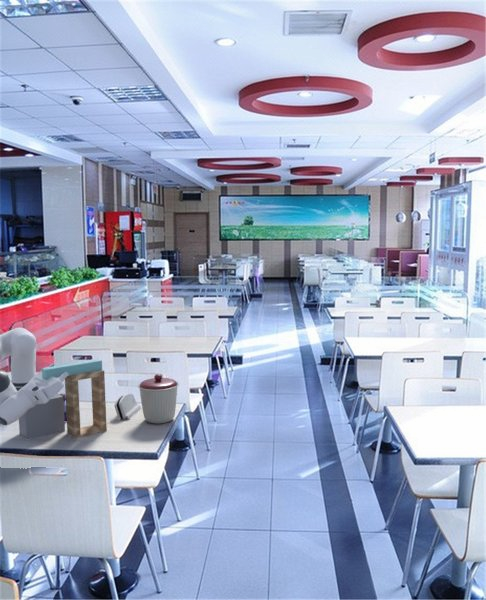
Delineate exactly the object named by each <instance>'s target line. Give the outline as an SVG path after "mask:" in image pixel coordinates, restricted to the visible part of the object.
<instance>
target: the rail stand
mask: <svg viewBox="0 0 486 600" xmlns="http://www.w3.org/2000/svg"><path fill="white" fill-rule="evenodd" d="M105 376H106V375H105V370H103V369H102V370H99V371H94V372H88V373H82V374H76V375H71V376H67V377H66V378H65V379H64V389H65V391H64V392H65V393H64V394H65V396H66V401H65V403H66V415H67V421H66V431H67V434H68V435H69V436H71V437H72V438H74V439H77V438H83V437H86V436H90V435H94V434H95V435H96V434H99V433H103V432H107V430H108V429H107V427H108V426H107V408H106V407H107V405H106V404H107V403H106V402H107V401H106V380H105ZM86 379H91V380H90V381H91V383H90V384H91V386H90V387H91V406H92V424H91V425H87V426H82V427H81V415H80V414H81V413H80V411H81V410H80V391H79V390H80V389H79V381H82V380H86Z"/></svg>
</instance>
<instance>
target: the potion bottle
mask: <svg viewBox="0 0 486 600" xmlns="http://www.w3.org/2000/svg"><path fill="white" fill-rule="evenodd" d="M59 394H60V395H61V396H63V400H64V420H65V421H66V422H67V415H66V395H65V393H59Z"/></svg>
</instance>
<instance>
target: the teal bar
mask: <svg viewBox="0 0 486 600" xmlns="http://www.w3.org/2000/svg"><path fill="white" fill-rule="evenodd" d="M99 370H103V360H101V359H99V358H96V359H90V360H84V361H79V362H78V361H77V362H72V363H65V364H60V365H59V364H58V365H53V366H47V367H42V368H41V371H42V378H43V379H45V380H47V379H48V378H50V377H51V376H53V377H56V378H58V377H60V376H61V375H62V373H63V372H65V371H66V372H67V373H68V374H69V375H68V376H71V375H76V374H82V373H88V372H94V371H99Z"/></svg>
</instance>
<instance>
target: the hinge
mask: <svg viewBox="0 0 486 600" xmlns="http://www.w3.org/2000/svg"><path fill="white" fill-rule="evenodd" d="M141 406H142V405H140V404H138V402H137V400H136V398H135V395H134V394H133V393H126V394H123V395H121V396H120V397H118V398H117V399H116V400H115V403H114V408H115V412H116V415H117V419H118V420H119V419H120V420H122V419H126V418H127V420H128V419H130V418H131V417H132V416H133V415H134V414H135V415H136V414H137V413H138V411H139V410H140V409H141V410H142V407H141ZM141 410H140V411H141ZM140 411H139V412H140ZM135 415H134V416H135ZM134 416H133V417H134ZM133 417H132V418H133ZM132 418H131V419H132ZM131 419H130V420H131Z"/></svg>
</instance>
